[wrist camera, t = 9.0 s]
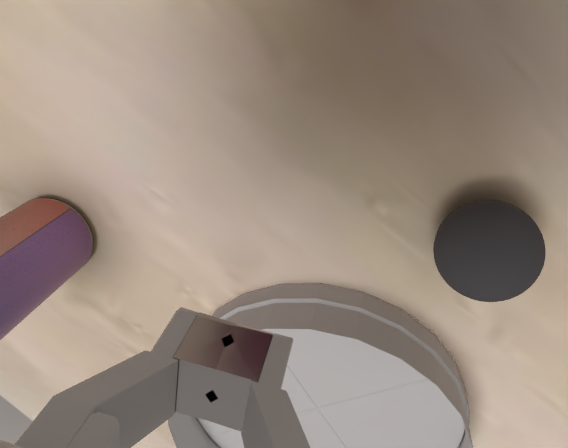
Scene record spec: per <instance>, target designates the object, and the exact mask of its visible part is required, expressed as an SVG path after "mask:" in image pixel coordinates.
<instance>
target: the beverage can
mask: <svg viewBox="0 0 568 448" xmlns="http://www.w3.org/2000/svg"><path fill="white" fill-rule="evenodd" d="M92 246H93V239H92V233H91V230H90V228H89V226H88V224H87V222H86V221H85V219H84V218H83V217H82V216H81V214H80V213H79V212H78V211H76V210H75V209H74V208H73V207H71V206H70V205H68V204H66V203H64V202H61V201H58V200H55V199H48V198H36V199H32V200H30V201H28V202H26V203H24V204H23V205H21V206H19V207H17V208H16V209H14V210H12V211H10V212H9V213H7V214H5V215H4V216H2V217H0V340H1V339H2V338H3V337H4V336H5V335H7V334H8V333H9V332H10V331H11V330H12V329H13V328H14V327H15V326H17V325H18V324H19V323H20V322H21V321H22V320H23V319H24V318H26V317H27V316H28V315H29V314H30V313H31V312H32V311H33V310H34V309H36V308H37V307H38V306H39V305H40V304H41V303H42V302H43V301H44V300H46V299H47V298H48V297H49V296H50V295H51V294H52V293H53V292H55V291H56V290H57V289H58V288H59V287H60V286H61V285H62V284H63V283H65V282H66V281H67V280H68V279H69V278H70V277H71V276H72V275H73V274H75V273H76V272H77V271H78V270H79V269H80V268H81V267H82V266H84V265H85V264H86V263H87V261H88V260H89V258H90V256H91V253H92Z"/></svg>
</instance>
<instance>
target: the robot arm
mask: <svg viewBox="0 0 568 448" xmlns="http://www.w3.org/2000/svg"><path fill="white" fill-rule="evenodd" d="M273 334H274V335H273ZM292 344H293V338H291V337H287V336H283V335H280V334H276V333H272V332H268V331H264V330H260V329H256V328H253V327H249V326H245V325H241V324H237V323H233V322H230V321H226V320H223V319H220V318H217V317H213V316H210V315H207V314H203V313H198V312H195V311H192V310H188V309H185V308H182V307H181V308H180V309H178V310H177V311H176V313H175V314H174V316H173V317H172V319H171V321H170V322H169V324H168V325H167V327H166V329H165V330H164V332H163V333H162V335H161V336H160V338H159V340H158V341H157V343H156V344H155V346H154V348H153V349H152V351H151V352H149V351H143V352H141V353H139V354H137V355H135V356H133V357H131V358H129V359H127V360H125V361H123V362H121V363H119V364H117V365H115V366H113V367H111V368H109V369H107V370H105V371H103V372H101V373H99V374H97V375H95V376H93V377H91V378H89V379H87V380H85V381H83V382H81V383H79V384H77V385H75V386H73V387H71V388H69V389H67V390H65V391H63V392H61V393H59V394H57V395H55V396H53V397H52V399H51V400H50V401H49V402H48V404H47V405H46V406H45V407H44V409H43V410H42V411H41V412H40V414H39V415H38V416H37V417H36V419H35V420H34V421H33V422H32V424H31V425H30V426H29V427H28V429H27V430H26V431H25V432H24V434H23V435H22V436H21V437H20V439H19V440H18V441H17V442H16V444H12V443H9V442H5V441H2V440H0V448H131V447H132V446H133V445H135V444H136V443H137V442H139V441H140V440H141V439H143V438H144V437H145V436H147V435H148V434H149V433H151V432H152V431H153V430H154V429H156V428H157V427H158V426H160V425H161V424H162V423H164V422H165V421H166V420H168V419H169V418H170V417H172V416H173V415H174V414H175V412H177V413H180V414H184V415H188V416H192V417H195V418H199V419H203V420H207V421H210V422H213V423H216V424H219V425H222V426H225V427H228V428H232V429H235V430H238V431H241V435H242V440H243V444H244V448H310V445H309V443H308V441H307V438H306V436H305V433H304V431H303V429H302V426H301V424H300V422H299V419H298V417H297V414H296V412H295V410H294V407H293V405H292V403H291V400H290V398H289V395H288V393H287V391H285V390H282V389H281V388H282V384H283V380H284V376H285V372H286V368H287V364H288V360H289V356H290V352H291V348H292Z"/></svg>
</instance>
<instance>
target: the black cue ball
mask: <svg viewBox="0 0 568 448" xmlns="http://www.w3.org/2000/svg"><path fill="white" fill-rule="evenodd" d="M434 259H435V263H436V266H437V268H438V271H439V273H440V274H441V276H442V277H443V279H444V280H445V281H446V283H447V284H448V285H449V286H450V287H452V288H453V289H454V290H455V291H457V292H458V293H460V294H462V295H464V296H466V297H468V298H471V299H474V300H478V301H484V302H497V301H504V300H508V299H511V298H513V297H515V296H518V295H519V294H521V293H523V292H524V291H525V290H527V289H528V288H529V287H530V286H531V285H532V284H533V283H534V282H535V281H536V279H537V278H538V276H539V275H540V273H541V270H542V268H543V265H544V260H545V244H544V239H543V236H542V234H541V232H540V230H539V228H538V226H537V225H536V223H535V222H534V221H533V219H532V218H531V217H530V216H529V215H527V214H526V213H525V212H524V211H522V210H521V209H519V208H518V207H516V206H514V205H511V204H509V203H506V202H502V201H496V200H480V201H474V202H471V203H468V204H465V205H463V206H461V207H459V208H457V209H456V210H454V211H453V212H452V213H451V214H449V215H448V216H447V217H446V219H445V220H444V221H443V222H442V224H441V225H440V227H439V229H438V231H437V234H436V237H435V241H434Z"/></svg>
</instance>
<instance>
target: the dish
mask: <svg viewBox="0 0 568 448" xmlns="http://www.w3.org/2000/svg"><path fill="white" fill-rule="evenodd" d="M212 316H213V317H217V318H220V319H223V320H226V321H230V322H233V323H237V324H241V325H245V326H249V327H253V328H256V329H260V330H264V331H268V332H272V333H276V334H280V335H283V336H287V337H291V338H293V344H292V348H291V352H290V356H289V360H288V364H287V368H286V372H285V376H284V380H283V384H282V388H281V389H282V390H285V391H287V393H288V395H289V398H290V400H291V403H292V405H293V407H294V410H295V412H296V414H297V417H298V419H299V422H300V424H301V426H302V429H303V431H304V433H305V436H306V438H307V441H308V443H309V445H310V448H473V445H472V440H471V435H470V430H469V407H468V402H467V397H466V392H465V388H464V386H463V383H462V380H461V377H460V374H459V372H458V369H457V366H456V363H455V361H454V359H453V358H452V357H451V356H450V354H449V353H448V352H447V351H446V349H445V348H444V347H443V345H442V344H441V343H440V342H439V340H438V339H437V338H436V337H435V335H434V334H433V333H432V332H431V331H429V330H428V329H427V328H425V327H424V326H423V325H421V324H420V323H419V322H417V321H416V320H415V319H413V318H412V317H411V316H409V315H408V314H407V313H405V312H404V311H403V310H402V309H400V308H397V307H395V306H393V305H391V304H388V303H386V302H384V301H382V300H379V299H377V298H375V297H373V296H370V295H368V294H366V293H364V292H360V291H355V290H350V289H346V288H341V287H336V286H331V285H326V284H321V283H320V284H279V285H275V286H271V287H267V288H263V289H259V290H255V291H251V292H247V293H244V294H243V295H241V296H239V297H238V298H236V299H234V300H232V301H231V302H229V303H227V304H226V305H224V306H222V307H220V308H219V309H217V310H216V312H215V313H214V314H213V315H212ZM273 335H274V334H273ZM168 426H169V428H170V431H171V434H172V436H173V439H174V442H175V444H176V447H177V448H244V444H243V440H242V435H241V431H238V430H235V429H232V428H228V427H225V426H222V425H219V424H216V423H213V422H210V421H207V420H203V419H199V418H195V417H192V416H188V415H184V414H180V413H177V412H175V414H174V415H173V416H172V417H170V418H169V419H168Z"/></svg>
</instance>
